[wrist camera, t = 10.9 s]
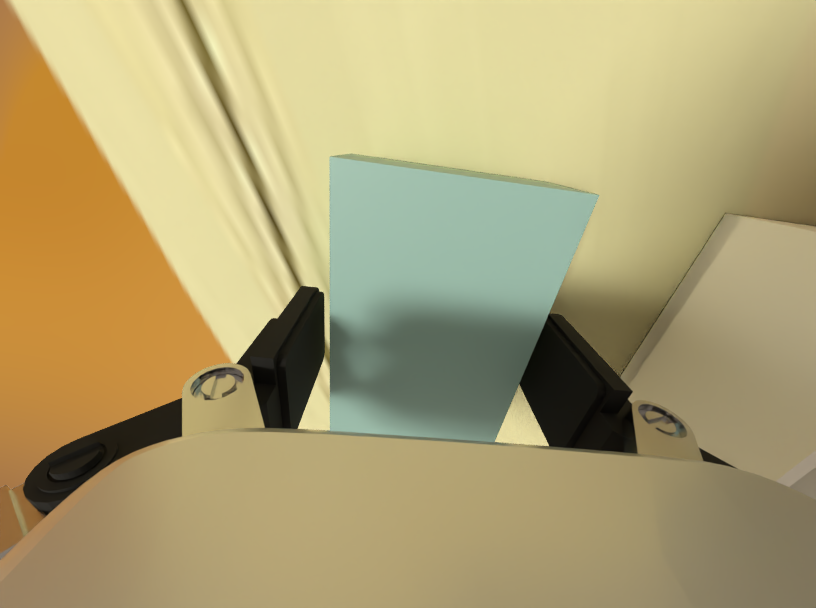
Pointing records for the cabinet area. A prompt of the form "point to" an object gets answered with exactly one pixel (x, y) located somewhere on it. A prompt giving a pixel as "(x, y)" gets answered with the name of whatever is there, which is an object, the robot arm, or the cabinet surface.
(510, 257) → the lid
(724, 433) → the box
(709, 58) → the cabinet surface
